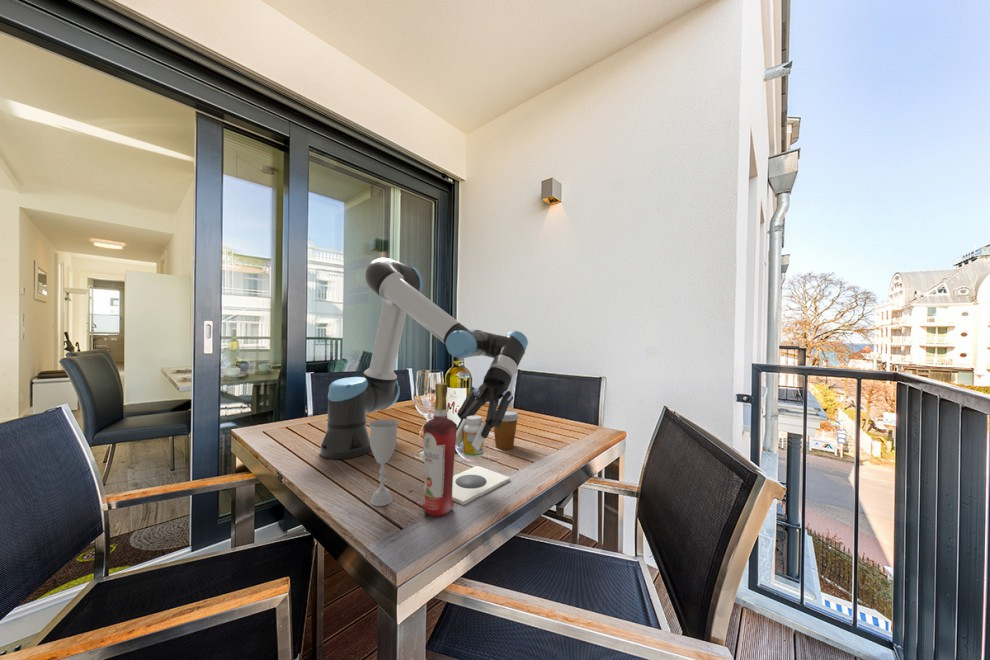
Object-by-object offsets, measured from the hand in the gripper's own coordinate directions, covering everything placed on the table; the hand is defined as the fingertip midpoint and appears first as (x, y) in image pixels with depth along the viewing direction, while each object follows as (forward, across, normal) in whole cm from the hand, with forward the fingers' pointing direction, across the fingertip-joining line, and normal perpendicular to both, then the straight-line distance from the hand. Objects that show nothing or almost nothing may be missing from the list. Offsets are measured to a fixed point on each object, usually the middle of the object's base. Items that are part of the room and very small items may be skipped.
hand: (465, 445), depth 86 cm
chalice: (+19, +12, +3) cm, 23 cm away
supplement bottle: (0, 0, -5) cm, 5 cm away
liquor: (+16, -1, 0) cm, 16 cm away
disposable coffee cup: (-17, +9, -33) cm, 38 cm away
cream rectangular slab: (+5, 0, -10) cm, 12 cm away
